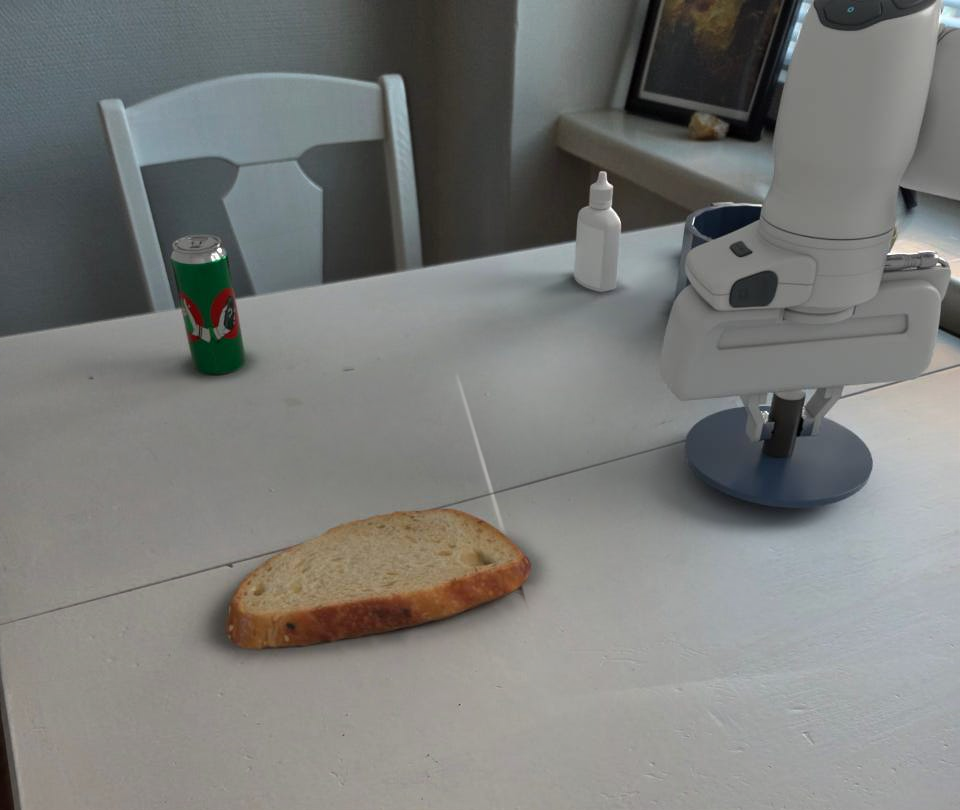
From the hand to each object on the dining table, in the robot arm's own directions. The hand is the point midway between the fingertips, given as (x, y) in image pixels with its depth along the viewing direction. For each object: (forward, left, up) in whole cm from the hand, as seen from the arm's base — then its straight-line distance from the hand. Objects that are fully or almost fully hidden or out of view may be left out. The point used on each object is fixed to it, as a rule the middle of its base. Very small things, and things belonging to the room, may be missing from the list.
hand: (780, 435), depth 78 cm
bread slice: (+32, +10, -5) cm, 34 cm away
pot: (-9, -31, -4) cm, 33 cm away
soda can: (+45, -28, -5) cm, 54 cm away
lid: (0, 0, -2) cm, 2 cm away
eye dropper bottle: (+4, -42, -5) cm, 43 cm away
